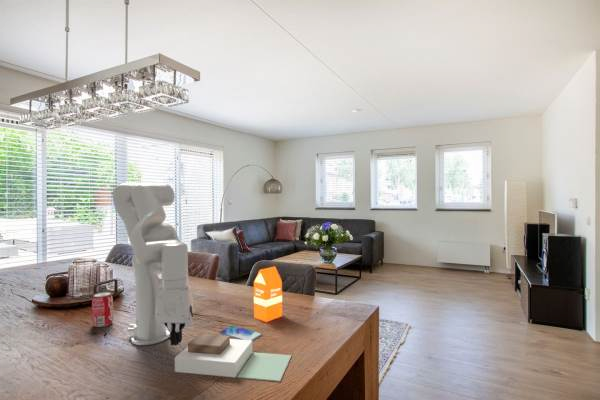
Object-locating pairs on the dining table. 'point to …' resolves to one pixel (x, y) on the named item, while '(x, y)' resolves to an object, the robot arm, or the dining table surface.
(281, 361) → the mat
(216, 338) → the walnut tile
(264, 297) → the orange juice
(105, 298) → the soda can
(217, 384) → the dining table surface
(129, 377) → the dining table surface
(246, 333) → the smartphone
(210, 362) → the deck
